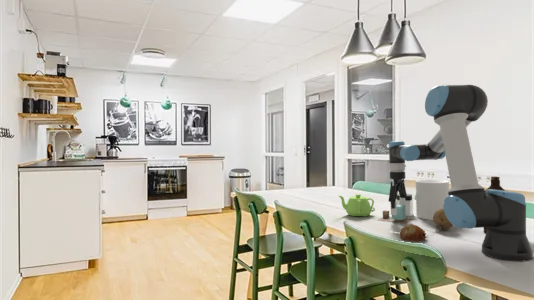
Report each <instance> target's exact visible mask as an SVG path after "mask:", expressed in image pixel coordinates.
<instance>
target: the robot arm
mask: <svg viewBox="0 0 534 300" xmlns="http://www.w3.org/2000/svg"><path fill="white" fill-rule="evenodd" d="M424 101H425V102H424V108H425V110H424V111H425V113H426V114H427V116H429V117H433V122H434V123H435V124H437V125H438V126H439V128H440V129H439V130H438V131H437V132H436V133H435V135H434V136H433V137H432V138H431V140H430V141H428V143H424V144H405V141H403V140H400V141H399V140H398V141H397V140H396V141H395V140H394V141H389V143H388V153H389V154H388V156H389V157H388V158H389V165H388V166H389V169H388V170H389V178H390V180H393V181H390V188H389V195H388V202H390V215H391V216H392V215H397V202H396V198H397V194H399V195H400V197H401V198H400V205H405V198H407V194H408V193H407V190H406V184H405V179H406V168H407V165H406V162H413V161H425V160H426V161H429V160H431V161H432V160H434V161H436V160H442V159H444V158H445V160H446V165H447V170H448V176H449V180H450V181H449V182H450V186H451V187H449V191H448V195H449V196H448V197H446V198H445V200H444V204H443V208H444V212H445V215H446V217H447V219H448V220H449V222H451V223H452V224H453V225H452V226H454V227H456V228H459V229H477V228H483V227H487V233H485V236H484V239H483V240H482V241H483V242H482V244H481V252H482V253H483V254H484V255H486V256H488V257H491V258H495V259H497V260H505V261H512V262H527V261H531V260H533V259H534V257H533V256H534V253H533V249H532V247H531V244H530V242H529V239H528V237H527V204H526V197H525V195H524V194H523V193H520V192H517V191H509V190H505V191H503V190H494V189H488V188H487V190H486V189H485V187H484V186H482V185H480V184H479V182H478V177H477V172H476V166H475V163H474V157H473V154H472V153H473V152H472V147H471V145H470V144H471V143H470V137H469V134H468V129H467V127H468V126H470V124H471V123H473V122H476V121H478V120H479V119H480V118H481V117H482V116H483V114H484V113H485V111H486V110H487V108H488V103H489V102H488V96H487V94H486V92H485V90H484V89H482V88H481V87H480V86H477V85H473V84H452V85H451V84H448V85H447V84H442V85H435V86H434V87H432V88H431V89H430V90H429V91H428V92H427V95H426V98H425V100H424ZM485 190H486V194H485ZM405 210H406V207H405Z"/></svg>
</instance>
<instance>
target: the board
mask: <svg viewBox="0 0 534 300" xmlns="http://www.w3.org/2000/svg"><path fill="white" fill-rule="evenodd" d="M413 220H414V218H405V219H404V220H402V221H395V219H392V216H389V218H383V216H382V217H381V218H379V219H377V221H380V222H387V223H395V224H397V223H398V224H404V225H408V224H410V222H412V221H413Z"/></svg>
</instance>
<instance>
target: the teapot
mask: <svg viewBox="0 0 534 300" xmlns="http://www.w3.org/2000/svg"><path fill="white" fill-rule="evenodd" d="M338 197H339V198H340V200H341V206H342V208H343V209H344V210H345V212H346V213H347V215H348V216H351V217H368V216H370V214H372V213H373V212H375V210H376V209H375V207H374V204H375V201H374V199H373V198H371V197H368V198H367V197H366V196H362V195H361V194H360V193H359V194H358V193H357V194H355V196H350V197H349V198H348V200H347V203H346V202H345V199H344V197H343V196H342V195H338ZM370 201H372V202H371V203H370Z"/></svg>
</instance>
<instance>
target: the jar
mask: <svg viewBox="0 0 534 300" xmlns="http://www.w3.org/2000/svg"><path fill="white" fill-rule="evenodd" d="M406 194H407V198H405V207H406V210H405V213H406V217H411V216H414V199H413V194H410V193H406ZM400 198H401V197H400V195H399V193H398V194H397V198H396V202H397V205H400Z"/></svg>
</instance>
